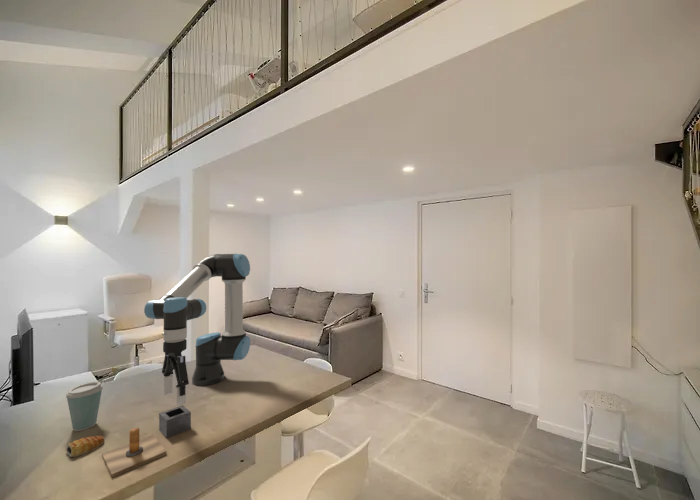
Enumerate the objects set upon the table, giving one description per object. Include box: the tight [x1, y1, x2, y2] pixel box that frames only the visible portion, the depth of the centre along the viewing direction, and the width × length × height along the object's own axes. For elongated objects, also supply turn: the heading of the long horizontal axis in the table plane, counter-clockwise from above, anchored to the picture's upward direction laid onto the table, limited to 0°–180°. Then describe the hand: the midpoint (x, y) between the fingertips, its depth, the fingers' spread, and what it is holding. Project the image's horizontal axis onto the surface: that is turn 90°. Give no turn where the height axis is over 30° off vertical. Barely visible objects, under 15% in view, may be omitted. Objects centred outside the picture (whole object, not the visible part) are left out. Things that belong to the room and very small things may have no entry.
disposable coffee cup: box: [65, 380, 103, 432], centre depth 116 cm, size 11×11×15 cm
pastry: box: [65, 435, 105, 458], centre depth 102 cm, size 9×7×4 cm
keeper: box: [101, 427, 167, 478], centre depth 98 cm, size 14×14×8 cm
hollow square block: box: [158, 404, 192, 439], centre depth 113 cm, size 8×8×6 cm
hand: (174, 398), depth 113 cm, fingers open, 13 cm apart
